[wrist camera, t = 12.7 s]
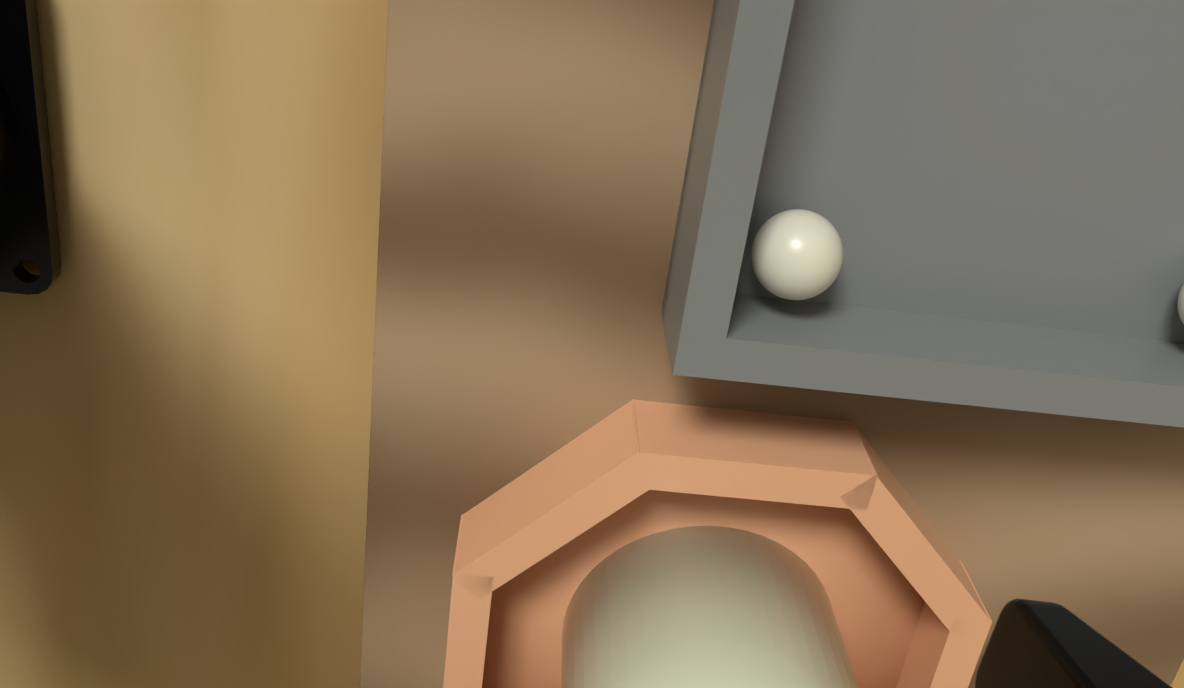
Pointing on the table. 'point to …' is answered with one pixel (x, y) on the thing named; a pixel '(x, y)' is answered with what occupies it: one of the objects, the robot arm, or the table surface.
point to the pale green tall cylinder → (703, 617)
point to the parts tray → (939, 204)
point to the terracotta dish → (712, 498)
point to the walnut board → (658, 334)
